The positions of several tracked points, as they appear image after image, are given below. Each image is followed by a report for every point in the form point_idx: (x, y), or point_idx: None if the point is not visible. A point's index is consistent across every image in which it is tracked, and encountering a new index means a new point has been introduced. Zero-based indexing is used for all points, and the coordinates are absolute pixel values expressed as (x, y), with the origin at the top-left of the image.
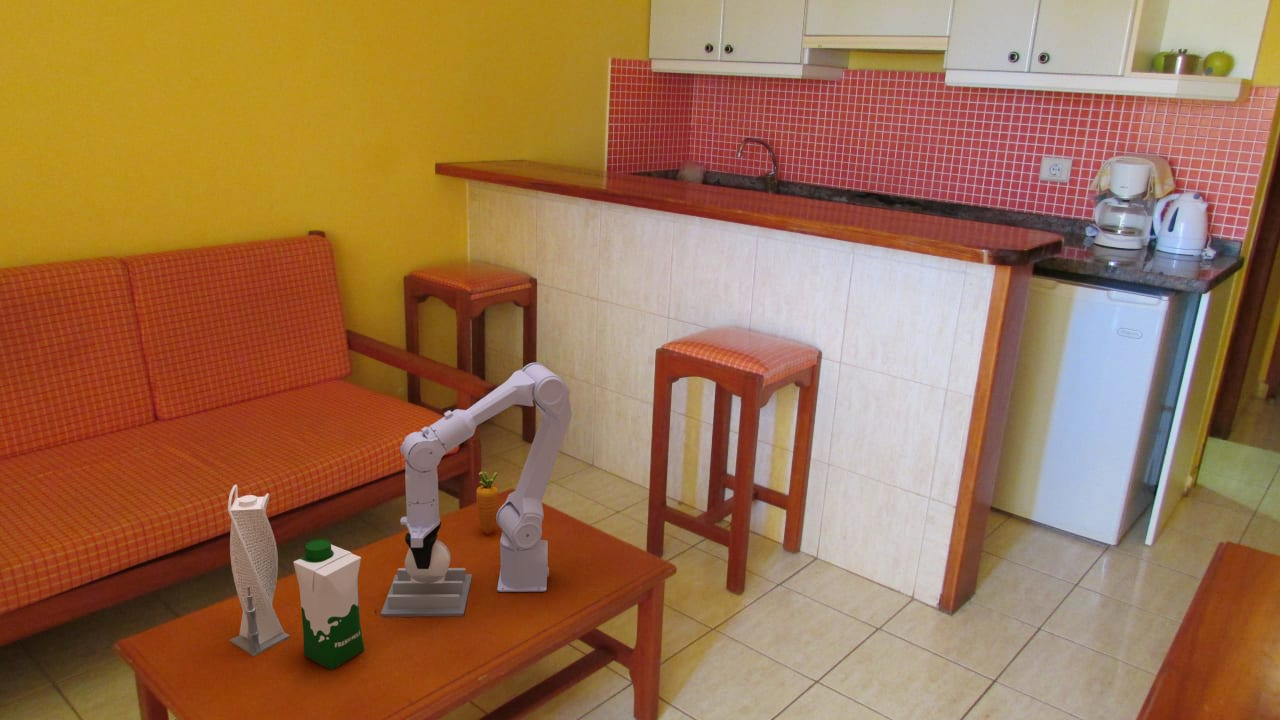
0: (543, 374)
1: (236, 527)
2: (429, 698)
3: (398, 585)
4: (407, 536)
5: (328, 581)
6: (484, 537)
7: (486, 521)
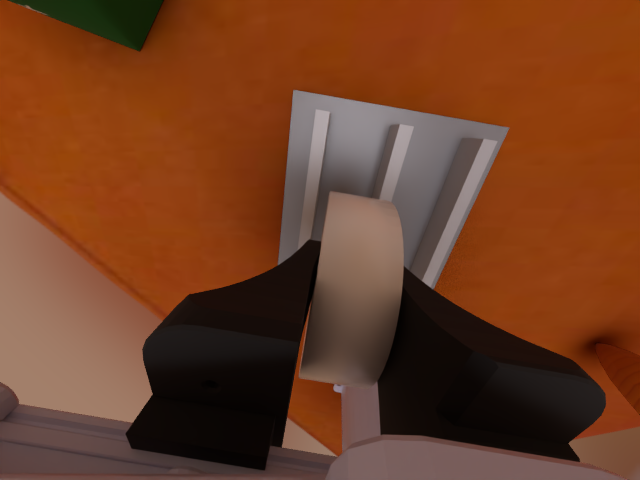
0: None
1: None
2: (22, 209)
3: (392, 143)
4: (204, 349)
5: None
6: (587, 336)
7: (626, 380)
